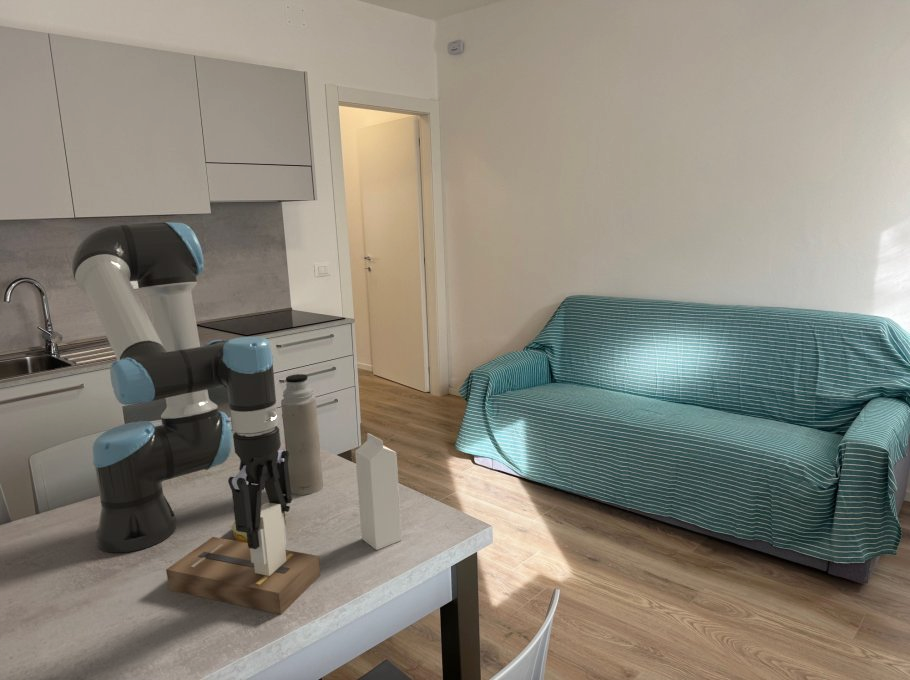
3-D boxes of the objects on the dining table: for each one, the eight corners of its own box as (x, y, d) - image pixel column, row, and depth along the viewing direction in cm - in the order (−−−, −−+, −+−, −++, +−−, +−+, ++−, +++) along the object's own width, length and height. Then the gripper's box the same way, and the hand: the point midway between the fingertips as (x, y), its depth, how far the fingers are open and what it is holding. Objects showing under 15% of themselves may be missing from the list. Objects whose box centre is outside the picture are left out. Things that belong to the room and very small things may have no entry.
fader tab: (255, 573, 112) (248, 515, 110) (272, 558, 117) (266, 502, 114) (269, 576, 111) (262, 517, 109) (286, 560, 116) (280, 504, 113)
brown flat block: (169, 589, 116) (166, 568, 115) (215, 555, 127) (212, 536, 126) (281, 614, 107) (278, 592, 106) (320, 575, 118) (318, 555, 117)
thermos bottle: (284, 494, 152) (272, 380, 147) (297, 480, 160) (286, 371, 154) (316, 495, 151) (306, 380, 146) (327, 481, 159) (318, 371, 153)
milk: (376, 550, 126) (368, 445, 121) (361, 538, 131) (353, 436, 126) (402, 540, 130) (395, 436, 125) (387, 528, 134) (379, 428, 130)
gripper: (238, 450, 99) (254, 586, 104) (305, 413, 115) (316, 532, 120) (200, 445, 102) (217, 578, 106) (270, 410, 118) (282, 526, 123)
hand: (269, 553), depth 113 cm, fingers closed on fader tab, 5 cm apart
